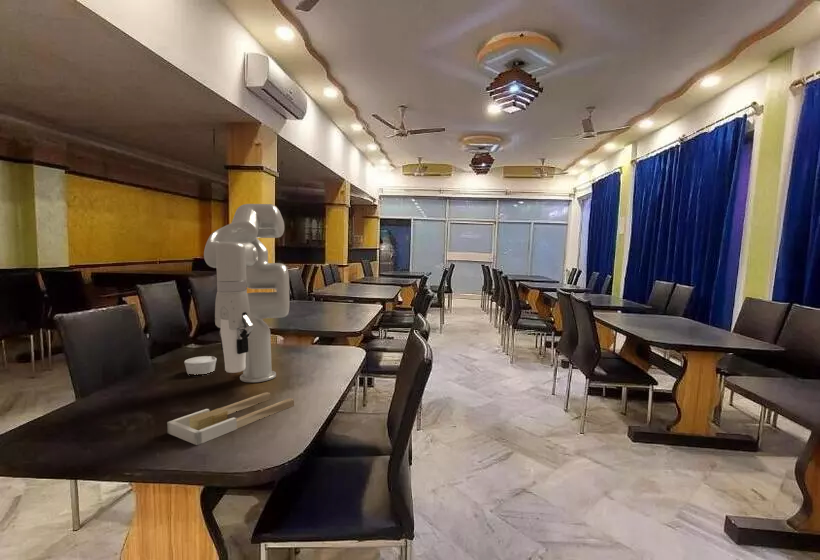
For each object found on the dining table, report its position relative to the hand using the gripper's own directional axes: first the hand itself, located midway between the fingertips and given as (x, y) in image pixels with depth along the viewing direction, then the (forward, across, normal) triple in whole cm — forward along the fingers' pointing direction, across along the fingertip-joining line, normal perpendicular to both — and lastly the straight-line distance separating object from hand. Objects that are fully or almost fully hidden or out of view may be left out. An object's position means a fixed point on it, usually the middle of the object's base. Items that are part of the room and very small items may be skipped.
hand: (234, 350), depth 121 cm
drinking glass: (+6, 0, 0) cm, 6 cm away
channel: (+19, 0, +5) cm, 20 cm away
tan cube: (+19, 0, -11) cm, 22 cm away
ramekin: (+20, -52, +20) cm, 59 cm away
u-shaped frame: (+19, 0, -11) cm, 22 cm away
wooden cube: (+19, 0, -7) cm, 20 cm away
